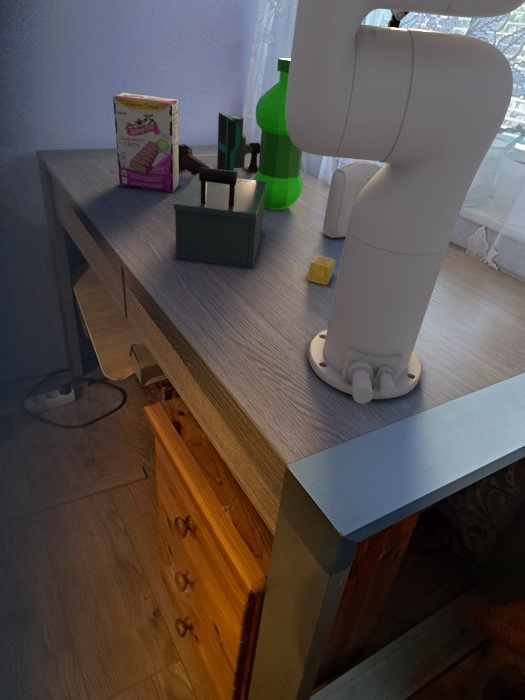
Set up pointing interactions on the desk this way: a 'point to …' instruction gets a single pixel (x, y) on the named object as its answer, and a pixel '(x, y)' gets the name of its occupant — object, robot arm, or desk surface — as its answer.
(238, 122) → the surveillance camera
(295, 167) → the plastic bottle
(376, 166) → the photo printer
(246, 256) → the dark green open box
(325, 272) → the alphabet block
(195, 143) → the desk surface
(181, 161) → the microphone
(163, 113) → the candy bar box
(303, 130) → the robot arm
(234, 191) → the lid
